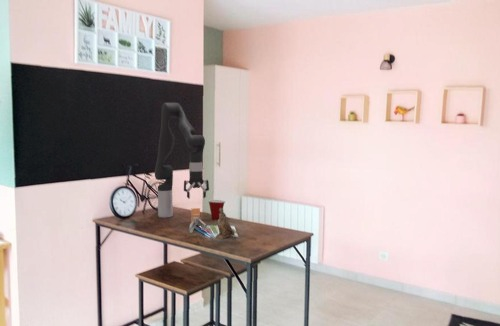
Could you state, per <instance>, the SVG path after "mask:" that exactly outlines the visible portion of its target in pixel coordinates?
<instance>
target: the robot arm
mask: <svg viewBox="0 0 500 326" xmlns="http://www.w3.org/2000/svg"><path fill="white" fill-rule="evenodd" d="M174 118H177V119H178V120H179V123H178V129H179V131H180V133H181V134H182V135H183V137H184V139H185V143H186V145H187V147H189V148H190V149H191V148H195V150H194V151H191V152H190V153H189V167H188V168H189V171H188V172H189V180H185V179H184V181H183V192H185V193H186V197H187V199H188V200H189V199H191V197H190V196H191V194H190V191H191V190H192V189H195V188H196V189H200V188H201V189H202V191H203V193H202V198H203V199H205V198H206V197H207V192H208V191H209V190H210V185H209V180H208V179H206V180H205V179H204V175H203V172H204V168H203V153H204V150H205V144H206V139H205V136H203V135H201V134H196V129H195V128H194V127H193V125H192V124H191V123H190V122H189V120H188V118H187V115H186V113H185V111H184V109H183V107H182V106H181V104H180V103H178V102H164V103H163V104H162V106H161V119H160V120H161V123H160V125H161V126H160V132H159V133H160V134H159V140H158V151H157V158H156V163H155V167H154V178H155V180H157V181H164V182H163V183H161V184H159V185H158V186H157V213H158V214H157V215H158V216H157V217H158V218H171V217H173V214H174V212H173V209H174V208H173V184H174V183H173V182H174V181H173V180H174V169H173V167H172V165H169V164H165V165H164V163H165V161H166V159H167V158H168V156H169V155H170V154H171V153H172V151H173V149H174V147H175V139H176V138H175V136H174V133H173V131H172V129H171V127H170V119H174ZM188 184H189V187H188V188H187V185H188ZM203 184H205V187H206V188H205V187H204V186H203Z"/></svg>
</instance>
